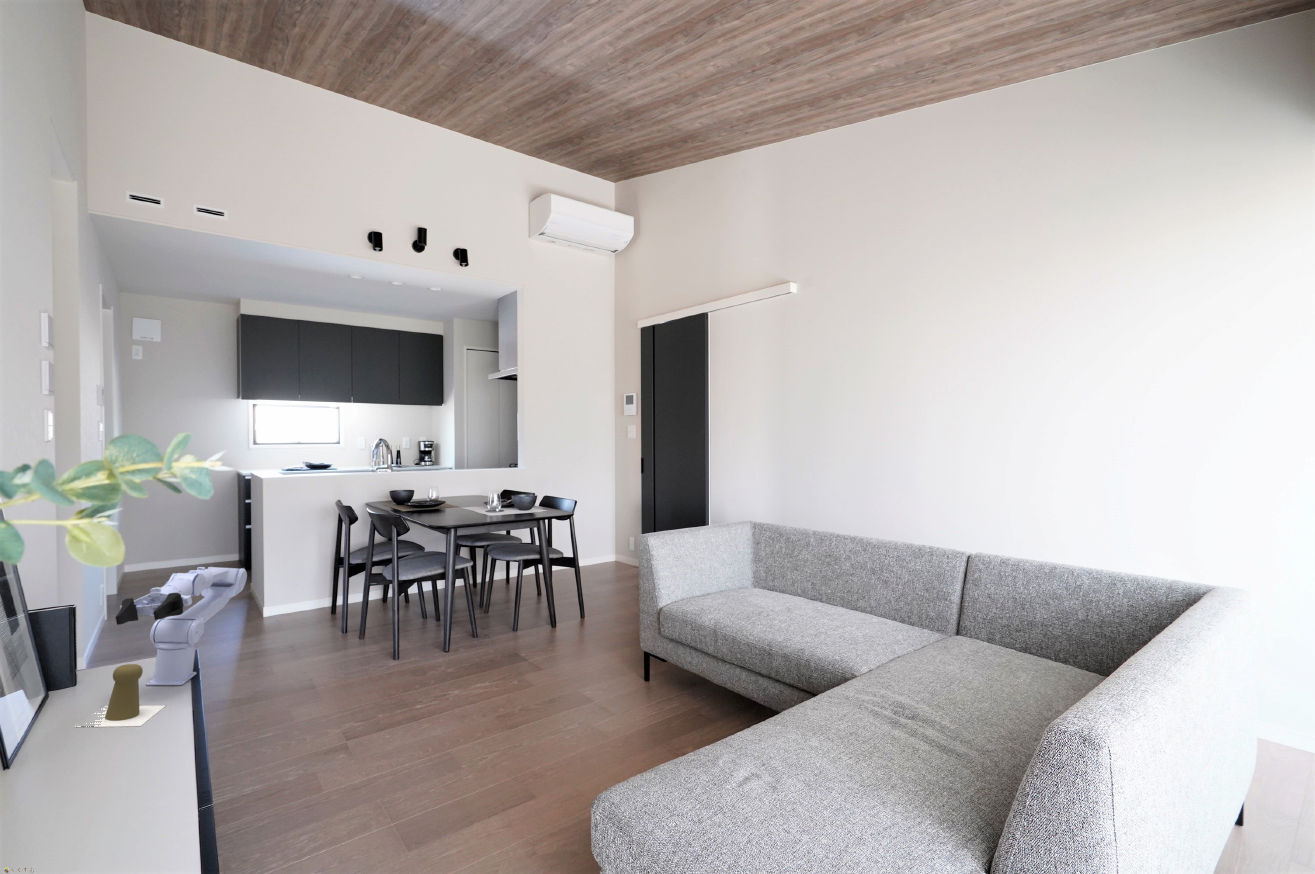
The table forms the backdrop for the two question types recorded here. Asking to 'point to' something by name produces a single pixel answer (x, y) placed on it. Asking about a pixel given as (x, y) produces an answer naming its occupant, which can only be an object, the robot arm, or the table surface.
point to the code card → (139, 720)
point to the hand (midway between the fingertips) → (136, 618)
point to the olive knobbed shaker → (125, 693)
